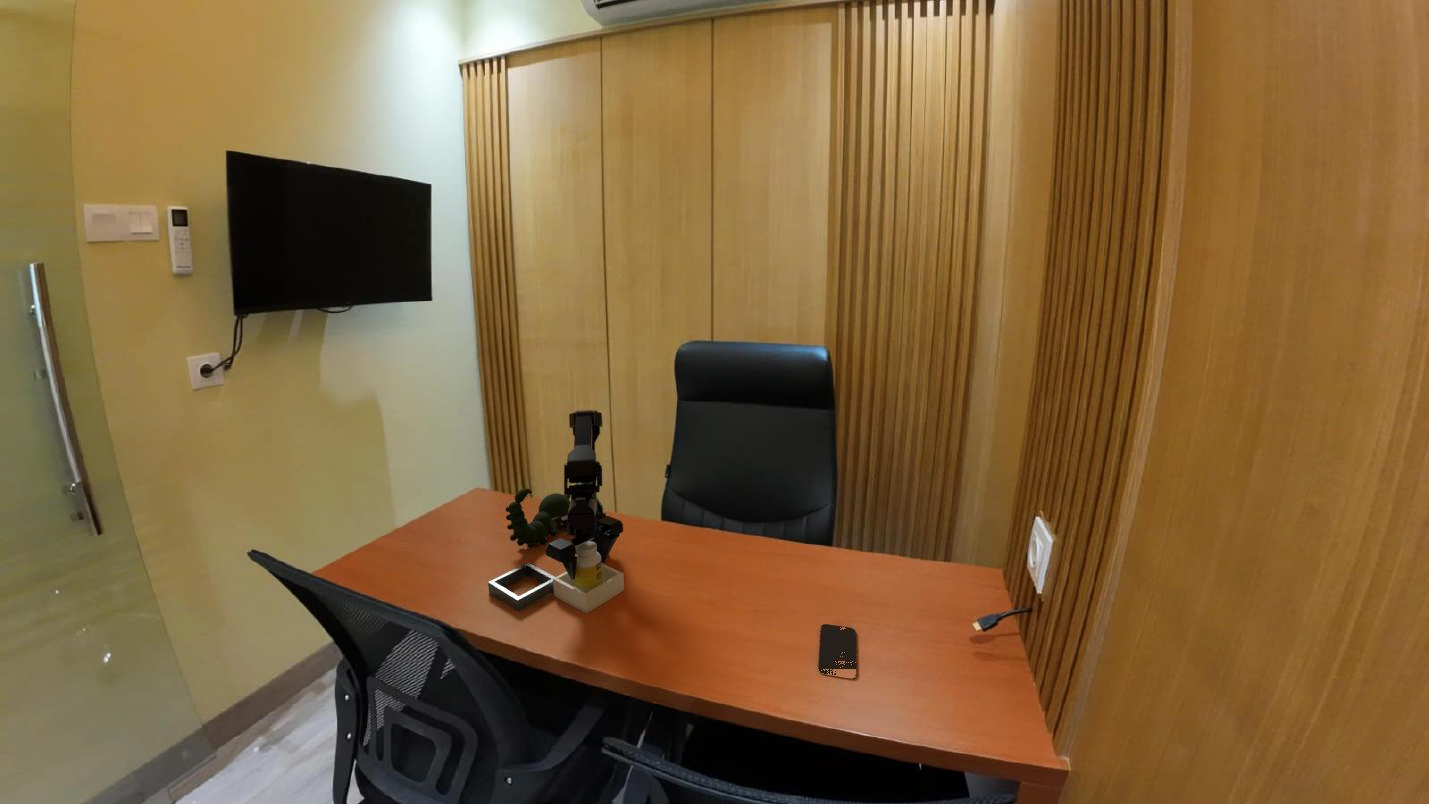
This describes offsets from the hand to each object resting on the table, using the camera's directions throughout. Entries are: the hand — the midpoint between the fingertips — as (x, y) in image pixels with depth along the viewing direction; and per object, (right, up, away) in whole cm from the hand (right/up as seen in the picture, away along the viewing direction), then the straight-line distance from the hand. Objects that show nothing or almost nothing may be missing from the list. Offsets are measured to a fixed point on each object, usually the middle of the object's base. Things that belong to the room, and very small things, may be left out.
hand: (588, 570), depth 127 cm
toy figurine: (-19, +1, +29) cm, 34 cm away
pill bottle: (0, -5, +1) cm, 5 cm away
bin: (0, -6, +1) cm, 6 cm away
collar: (-16, -6, +2) cm, 17 cm away
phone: (+55, -11, -18) cm, 59 cm away
